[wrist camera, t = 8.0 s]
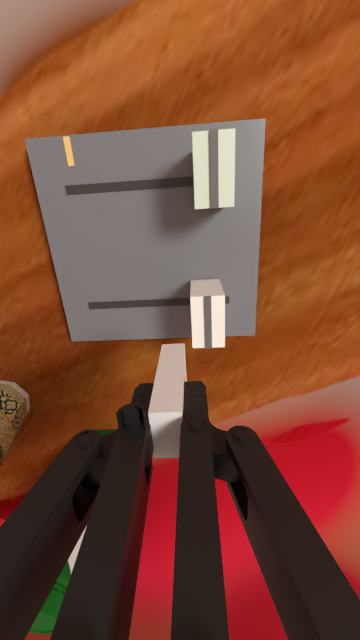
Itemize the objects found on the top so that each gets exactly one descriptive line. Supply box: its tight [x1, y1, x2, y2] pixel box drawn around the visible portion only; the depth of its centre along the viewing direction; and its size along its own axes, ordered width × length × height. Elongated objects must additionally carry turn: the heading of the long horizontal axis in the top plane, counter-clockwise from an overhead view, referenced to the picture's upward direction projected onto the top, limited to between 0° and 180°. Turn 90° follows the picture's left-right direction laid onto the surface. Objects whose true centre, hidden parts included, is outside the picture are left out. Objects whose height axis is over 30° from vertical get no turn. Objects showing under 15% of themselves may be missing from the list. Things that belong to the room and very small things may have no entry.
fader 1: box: [192, 128, 235, 210], centre depth 22 cm, size 3×5×6 cm, turn 3°
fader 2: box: [190, 279, 225, 348], centre depth 27 cm, size 3×5×6 cm, turn 3°
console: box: [24, 118, 266, 342], centre depth 29 cm, size 22×21×2 cm
